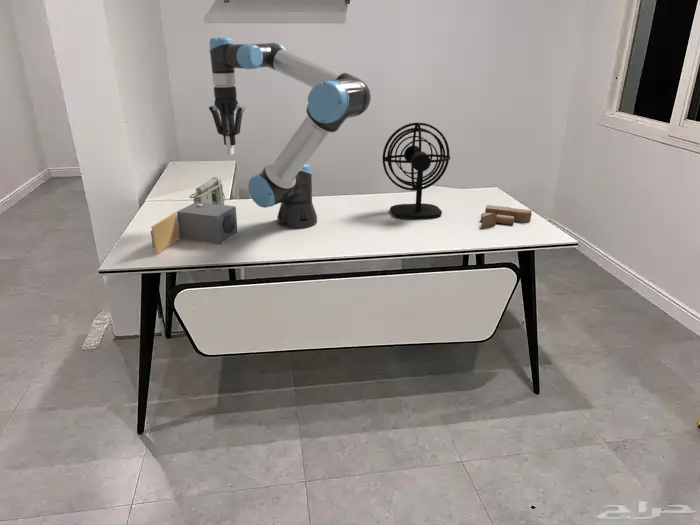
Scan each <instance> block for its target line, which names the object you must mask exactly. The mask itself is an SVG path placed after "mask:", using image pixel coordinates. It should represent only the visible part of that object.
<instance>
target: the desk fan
mask: <svg viewBox="0 0 700 525" xmlns="http://www.w3.org/2000/svg"><path fill="white" fill-rule="evenodd" d="M413 126H414V127H413ZM421 126H425V127H429V128H431V129H433V130H434V131H436V132H437V133H438V134H439V136H440V137H441V138H442V140H443V142H444V144H443V142H442V141H441V139H440V138H439V137H438V136H437V135H436V134H435V133H433V132H432V131H430V130H428V129H426V128H423V127H421ZM409 127H412V128H409ZM402 130H403V131H402ZM417 132H418V135H417ZM422 133H427V134H430V135H431V136H432V137H433V138H434V139H435V140H436V142H437V143H438V147H439V151H440V153H438V151H437V148H436V147H435V146H434V145H433V144H432V143H431V142H429V141H428V140H427V139H426V138H424V137H422ZM409 134H413V135H412V136H411V135H409ZM407 135H409V136H408V137H406V136H407ZM404 137H405V138H404ZM403 138H404V139H403ZM411 138H412V141H410V142H408V143H407V144H406V145H405V146H404V147H403V148H402V150H401V151H400V154H397V153H398V149H399V148H400V146H401V145H402V144H403V143H404V142H405V141H407V140H408V139H411ZM416 138H418V139H416ZM401 139H403V140H401ZM399 141H400V142H399ZM416 142H418V146H417V145H416ZM422 142H424V143H427V144H428V147H429V149H430V154H429V153H426V152H425V151H422ZM397 144H398V145H397ZM411 144H412V145H411ZM396 145H397V147H396ZM444 145H445V147H444ZM395 147H396V148H395ZM445 148H446V149H445ZM387 149H388V150H387ZM433 149H434V151H435V153H433V152H434V151H433ZM394 150H395V153H394V155H392V154H393V151H394ZM386 152H387V153H386ZM386 155H387V156H386ZM397 158H398V159H397ZM402 158H404V160H403V159H402ZM433 158H436V159H433ZM450 160H451V156H450V147H449V143H448V140H447V139H446V137H445V136H444V134H443V133H442V132H441V131H440V130H439V129H438V128H437V127H435V126H433V125H431V124H430V123H429V124H428V123H425V122H411V123H408V124H405V125H403V126H401V127H399V128H398V129H396V130H395V131H394V132H393V133H392V134H391V135H390V136H389V137H388V139H387V141H386V143H385V145H384V148H383V152H382V167H383V170H384V172H385V174H386V176H387V178H388V179H389V180H390V181H391V182H392V184H394V185H395V186H396V187H398V188H400V189H403V190H405V191H414V192H416V193H415V194H416V197H415V203H401V204H395V205H392V206H390V208H389V212H390V213H391V214H392V216H394V217H396V218H401V219H429V218H430V219H431V218H437V217H439V216H441V215H443V211H442V210H441V208H440V207H439V206H437V205H435V204H431V203H422V197H423V196H422V195H423V190H425V189H427V188H430V187H431V186H433V185H434V184H436V183H437V182H438V181H439V180H441V178H442V177H443V175H444V174H445V172H446V170H447V168H448V166H449V163H450ZM386 162H387V165H388V168H389V171H390V172H391V174H392V175H393V176H394V178H396V180H397V181H399V182H400V183H402V184H403V185H406V186H403V185H401V184H399V183H398V182H396V181H395V180H394V179H393V178H392V177H391V176H390V174H389V172H388V169H387V165H386ZM392 163H395V164H396V166H397V167H398V169H400V170H401V171H402V173H403V175H404V176H407V178H410V179H411V181H409V180H404V179H402V178H400V177H399V176H398V175H397V174H396V172H395V171H394V169H393V166H392ZM432 163H435V165H434V167H433V169H432V170H431V171H430V172H429V173H427V174H426V175H424V172H426V171H427V170H428V169H429V168H430V167H431V164H432ZM402 164H410V166H411V168H410V169H411V170H410V172H409V171H406V170H404V169H403V166H402ZM415 170H416V171H415ZM414 171H415V172H414ZM409 174H410V175H409ZM415 175H416V177H415ZM415 180H416V181H415ZM407 186H409V187H407Z"/></svg>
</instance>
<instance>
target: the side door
mask: <svg viewBox="0 0 700 525" xmlns="http://www.w3.org/2000/svg"><path fill="white" fill-rule="evenodd" d="M150 236H151V243H152V248H153V249H154V253H155V254H160V252H161V253H162V251H163V250H165V249H166V248H168V247H169V246H170V245H172V244H173V243H175V242H176V241H178V240H179V239H180V232H179V224H178V216H177V211H176V212H173V213H171V214H170V215H168V216H166V217H165V218H163V219H162V220H160V221H159V222H157V223H155V224H154V225H151V230H150Z"/></svg>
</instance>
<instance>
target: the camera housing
mask: <svg viewBox="0 0 700 525" xmlns="http://www.w3.org/2000/svg"><path fill="white" fill-rule="evenodd" d="M176 212H177V216H178V224H179V232H180V238H179V239H180V240H186V241H194V242H200V243H201V242H202V243H208V244H215V245H221V244H223V243H225V242H227V240H229V239H231V238H233V237H234V236H235V235H237V234H238V233H239V231H238V220H237V208H236V205H235V206H233V205H228V204H227V205H226V204H224V205H219V204H210V203H202V202H195V203H194V202H193V203H192V204H190V205H188V206H186V207H183V208H181V209H179V210H177V211H176Z"/></svg>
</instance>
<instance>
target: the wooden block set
mask: <svg viewBox="0 0 700 525" xmlns="http://www.w3.org/2000/svg"><path fill="white" fill-rule="evenodd" d="M532 212H533V211H532V210H531V209H525V208H524V209H523V208H522V209H521V208H513V207H510V206H500V205H490V204H487V205H486V207H485V211H484V212H482V213H481V215H480V221H481V225H480V229H485V228H490V227H495V226H496V224H500V225H501V224H502V225H511V226H514V223H515V222H518V223H529V222H530V221H531V219H532V214H533V213H532Z"/></svg>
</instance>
